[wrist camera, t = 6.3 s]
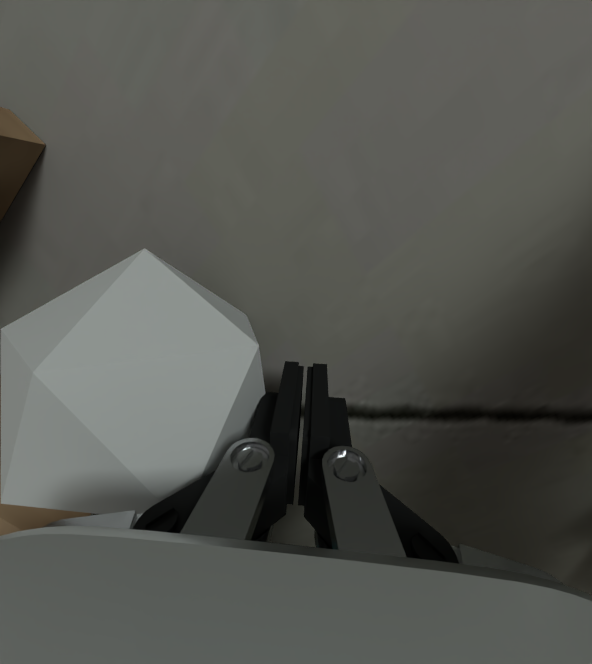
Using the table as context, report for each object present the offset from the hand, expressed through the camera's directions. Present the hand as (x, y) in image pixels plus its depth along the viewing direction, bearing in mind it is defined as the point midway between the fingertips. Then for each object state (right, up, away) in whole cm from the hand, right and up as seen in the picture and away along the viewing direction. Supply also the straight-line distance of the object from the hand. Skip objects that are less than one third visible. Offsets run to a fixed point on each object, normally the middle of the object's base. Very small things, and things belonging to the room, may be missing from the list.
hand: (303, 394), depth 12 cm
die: (-5, +2, +3) cm, 6 cm away
